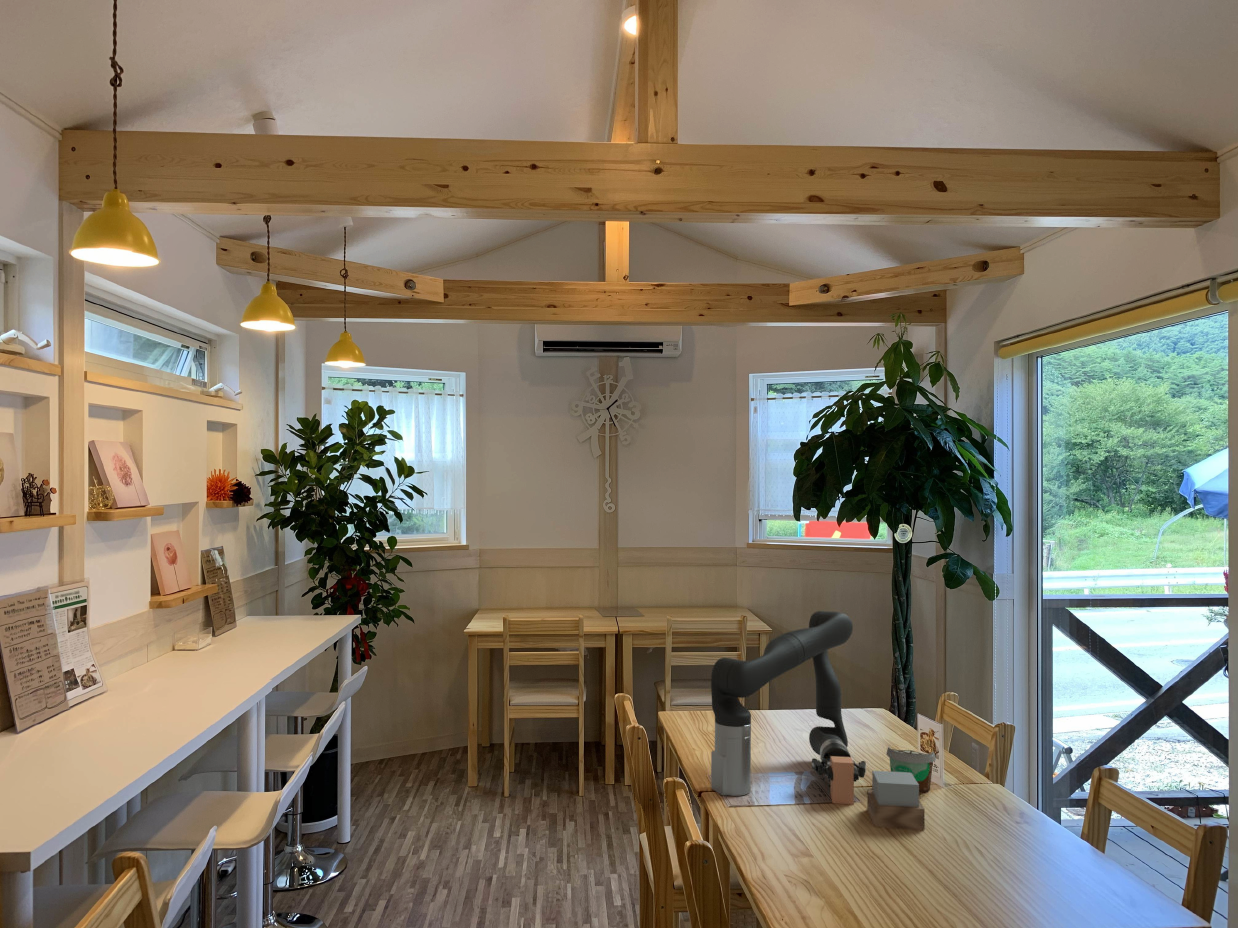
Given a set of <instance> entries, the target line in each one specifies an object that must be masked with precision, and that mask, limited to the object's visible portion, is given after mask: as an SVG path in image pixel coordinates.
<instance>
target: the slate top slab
mask: <svg viewBox="0 0 1238 928" xmlns="http://www.w3.org/2000/svg"><path fill="white" fill-rule="evenodd" d="M871 773H872V774H871V775H872V780H871V781H872V792H873V794H874V796H875V798H876V801H877V803H878V805H891V806H908V807H919V801H920V793H919V784H918V783H917V781H916V780H915V778H914V776H913V775H912V773H909V772H891V770H890V771H887V770H872V772H871Z"/></svg>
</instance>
